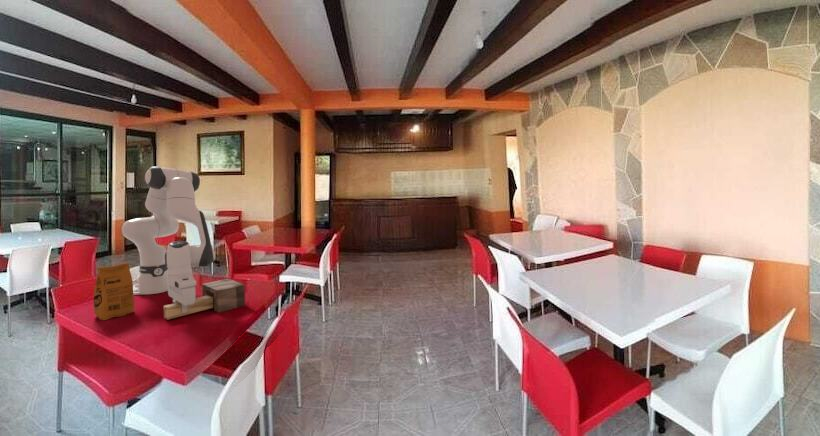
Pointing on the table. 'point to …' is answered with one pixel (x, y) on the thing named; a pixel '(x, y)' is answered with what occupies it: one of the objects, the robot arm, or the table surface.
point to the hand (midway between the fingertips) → (181, 310)
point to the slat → (199, 305)
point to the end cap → (225, 294)
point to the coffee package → (113, 292)
